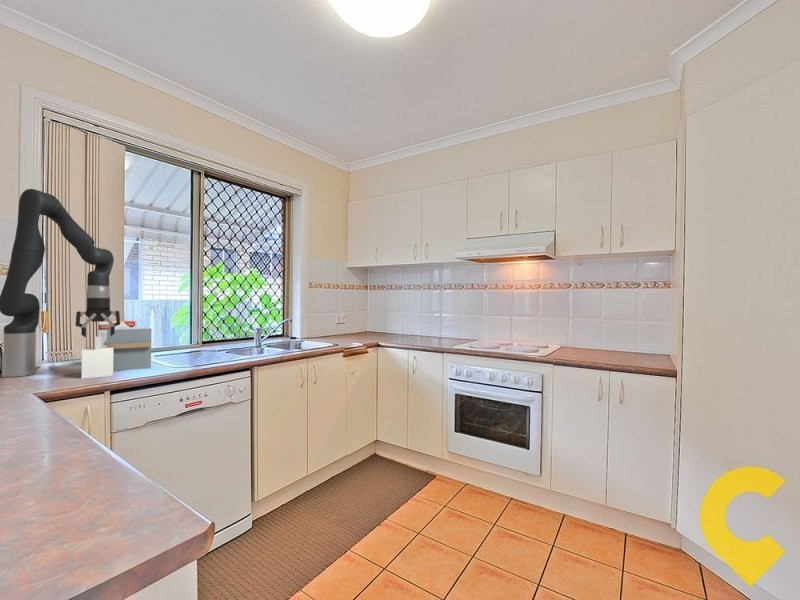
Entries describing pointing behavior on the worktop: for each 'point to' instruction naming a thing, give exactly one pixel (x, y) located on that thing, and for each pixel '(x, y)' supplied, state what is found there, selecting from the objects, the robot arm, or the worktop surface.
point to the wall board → (130, 348)
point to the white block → (97, 361)
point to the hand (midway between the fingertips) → (98, 336)
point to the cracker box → (123, 325)
